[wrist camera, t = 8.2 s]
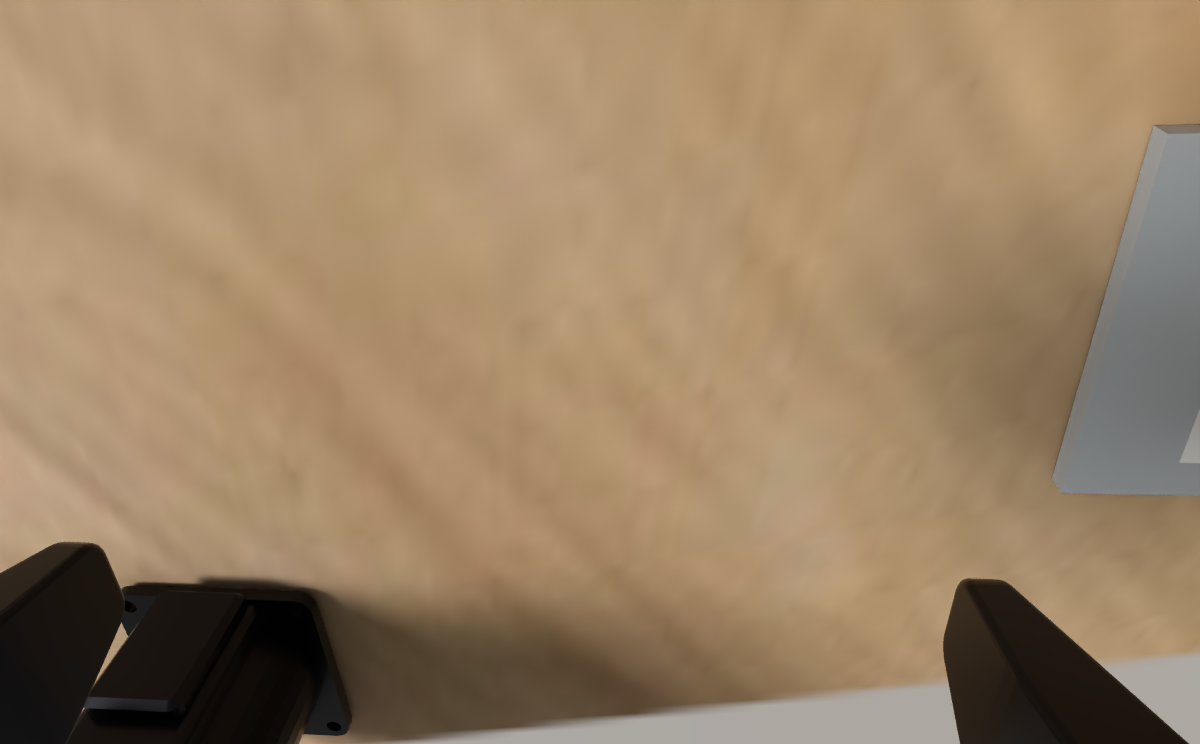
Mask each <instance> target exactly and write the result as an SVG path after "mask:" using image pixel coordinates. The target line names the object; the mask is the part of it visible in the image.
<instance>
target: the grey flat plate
mask: <svg viewBox="0 0 1200 744" xmlns="http://www.w3.org/2000/svg"><path fill="white" fill-rule="evenodd" d="M1052 479H1053V481H1054V483H1055V484H1056V486H1057V488H1058V489H1059V491H1060V493H1077V494H1131V495H1185V496H1200V125H1158V126H1154V127H1153V130H1152V134H1151V137H1150V141H1149V144H1148V148H1147V151H1146V155H1145V158H1144V161H1143V165H1142V168H1141V172H1140V175H1139V179H1138V182H1137V186H1136V189H1135V193H1134V196H1133V200H1132V203H1131V206H1130V210H1129V213H1128V217H1127V220H1126V224H1125V227H1124V231H1123V234H1122V238H1121V241H1120V245H1119V248H1118V251H1117V255H1116V258H1115V262H1114V265H1113V269H1112V272H1111V276H1110V279H1109V283H1108V286H1107V289H1106V293H1105V296H1104V300H1103V303H1102V307H1101V310H1100V314H1099V317H1098V321H1097V324H1096V328H1095V331H1094V334H1093V338H1092V341H1091V345H1090V348H1089V352H1088V355H1087V359H1086V362H1085V366H1084V369H1083V373H1082V376H1081V379H1080V383H1079V386H1078V390H1077V393H1076V397H1075V400H1074V404H1073V407H1072V411H1071V414H1070V418H1069V421H1068V424H1067V428H1066V431H1065V435H1064V438H1063V442H1062V445H1061V449H1060V452H1059V456H1058V459H1057V462H1056V466H1055V469H1054V473H1053V476H1052Z"/></svg>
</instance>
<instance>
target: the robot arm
mask: <svg viewBox="0 0 1200 744" xmlns="http://www.w3.org/2000/svg"><path fill="white" fill-rule="evenodd" d="M121 622H122V624H123V626H124V628H125V630H126V633H127V635H128V638H127V639H126V641H125V642H124V643H123V645H122V646H121V648H120V649H119V650H118V652H117V653H116V655H115V656H114V657H113V659H112V660H111V662H110V663H109V664H108V666H107V667H106V669H105V670H104V671H103V673H102V674H101V676H100V677H99V678H98V680H97V681H96V678H97V676H98V674H99V672H100V669H101V667H102V665H103V662H104V660H105V658H106V656H107V653H108V651H109V649H110V647H111V644H112V642H113V640H114V638H115V635H116V633H117V631H118V628H119V626H120V624H121ZM943 652H944V661H945V666H946V672H947V677H948V682H949V687H950V692H951V698H952V703H953V708H954V714H955V719H956V724H957V730H958V735H959V740H960V744H1189V743H1187V742H1186V741H1185V740H1184V739H1183V738H1182V737H1181V736H1180V735H1178V734H1177V733H1176V732H1175V731H1174V730H1173V729H1172V728H1170V727H1169V726H1168V725H1167V724H1166V723H1165V722H1164V721H1163V720H1162V719H1160V718H1159V717H1158V716H1157V715H1156V714H1155V713H1154V712H1153V711H1151V710H1150V709H1149V708H1148V707H1147V706H1146V705H1144V703H1142V702H1141V701H1140V700H1139V699H1138V698H1137V697H1136V696H1135V695H1133V694H1132V693H1131V692H1130V691H1129V690H1128V689H1127V688H1126V687H1125V686H1123V685H1122V684H1121V683H1120V682H1119V681H1118V680H1117V679H1116V678H1114V677H1113V676H1112V675H1111V674H1110V673H1109V672H1108V671H1107V670H1105V669H1104V668H1103V667H1102V666H1101V665H1100V664H1099V663H1098V662H1097V661H1095V660H1094V659H1093V658H1092V657H1091V656H1090V655H1089V654H1088V653H1086V652H1085V651H1084V650H1083V649H1082V648H1081V647H1080V646H1079V645H1077V644H1076V643H1075V642H1074V641H1073V640H1072V639H1071V638H1070V637H1068V636H1067V635H1066V634H1065V633H1064V632H1063V631H1062V630H1061V629H1059V628H1058V627H1057V626H1056V625H1055V624H1054V623H1053V622H1052V621H1051V620H1049V619H1048V618H1047V617H1046V616H1045V615H1044V614H1043V613H1042V612H1040V611H1039V610H1038V609H1037V608H1036V607H1035V606H1034V605H1033V604H1031V603H1030V602H1029V601H1028V600H1027V599H1026V598H1025V597H1024V596H1022V595H1021V594H1020V593H1019V592H1018V591H1017V590H1016V589H1015V588H1013V587H1012V586H1011V585H1010V584H1008V583H1006V582H1005V581H1002V580H994V579H970V578H969V579H964V580H962V581H961V582H960V583H959V585H958V586H957V589H956V592H955V596H954V600H953V603H952V607H951V611H950V615H949V619H948V622H947V626H946V630H945V634H944V641H943ZM95 681H96V683H95ZM94 683H95V684H94ZM83 708H85V709H84V710H83ZM82 710H83V711H82ZM81 712H82V713H81ZM351 722H352V715H351V712H350V709H349V705H348V702H347V699H346V696H345V693H344V689H343V686H342V683H341V680H340V677H339V673H338V670H337V667H336V664H335V661H334V657H333V654H332V651H331V648H330V644H329V641H328V638H327V635H326V632H325V628H324V625H323V622H322V619H321V616H320V612H319V609H318V606H317V603H316V601H315V600H314V598H312V597H311V596H310V595H308V594H306V593H304V592H298V591H270V590H239V589H208V588H177V587H147V586H126V587H124V588H122V589H121V588H120V586H119V584H118V581H117V579H116V577H115V575H114V572H113V570H112V568H111V565H110V563H109V561H108V558H107V556H106V554H105V552H104V550H103V549H102V548H101V547H99V546H98V545H97V544H93V543H81V542H60V543H56V544H53V545H51V546H49V547H47V548H45V549H44V550H42V551H40V552H38V553H36V554H35V555H33V556H31V557H29V558H27V559H25V560H24V561H22V562H20V563H18V564H16V565H14V566H13V567H11V568H9V569H7V570H5V571H3V572H2V573H0V744H299V742H300V740H301V737H302V735H303V734H314V735H334V736H339V735H344V734H346V733H347V732H348V730H349V727H350V725H351Z"/></svg>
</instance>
